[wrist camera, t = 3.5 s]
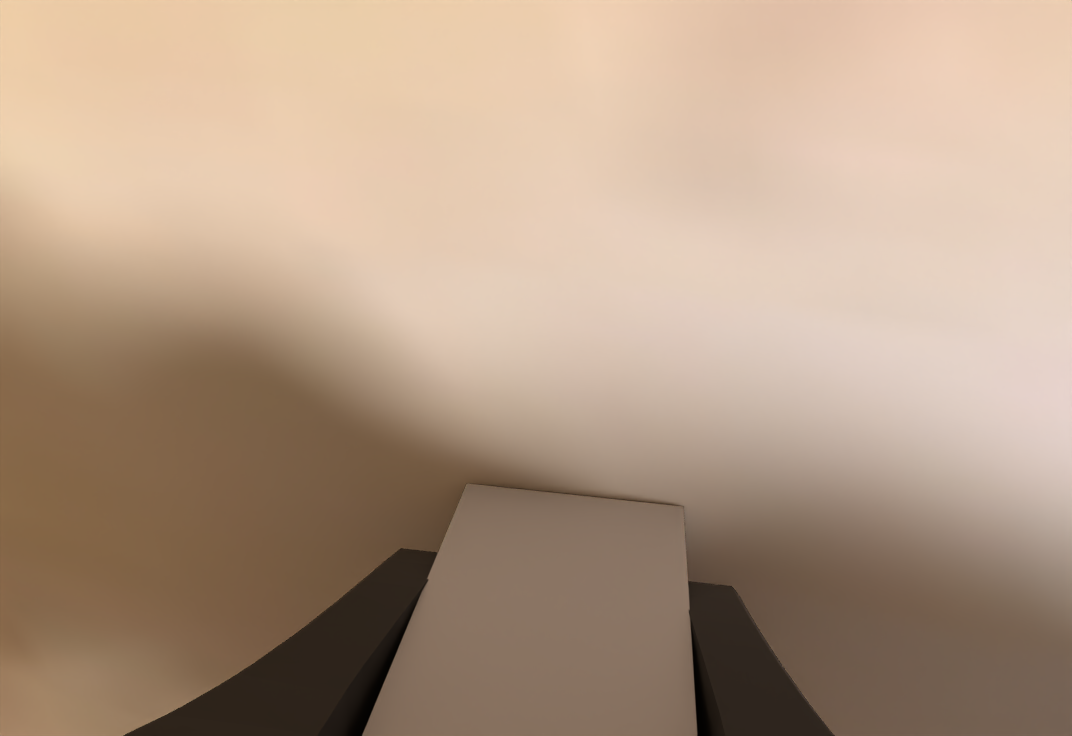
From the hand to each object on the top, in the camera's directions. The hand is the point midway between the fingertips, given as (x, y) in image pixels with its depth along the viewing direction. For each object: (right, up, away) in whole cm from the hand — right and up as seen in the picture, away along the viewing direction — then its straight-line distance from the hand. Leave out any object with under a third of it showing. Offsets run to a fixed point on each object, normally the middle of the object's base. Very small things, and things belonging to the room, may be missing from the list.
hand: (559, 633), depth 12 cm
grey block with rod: (0, -6, +4) cm, 7 cm away
